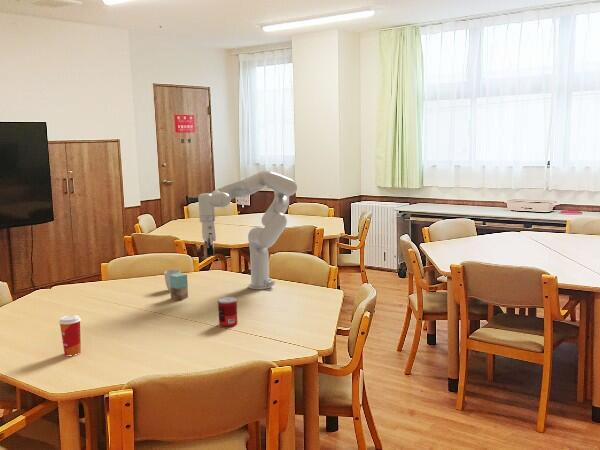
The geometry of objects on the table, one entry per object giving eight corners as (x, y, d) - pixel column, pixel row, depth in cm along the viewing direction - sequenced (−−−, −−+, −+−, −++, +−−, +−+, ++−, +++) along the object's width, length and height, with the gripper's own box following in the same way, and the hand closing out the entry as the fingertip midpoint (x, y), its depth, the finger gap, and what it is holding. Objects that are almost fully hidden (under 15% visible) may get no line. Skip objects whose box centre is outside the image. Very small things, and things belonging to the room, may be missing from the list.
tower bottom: (188, 297, 301) (187, 285, 300) (181, 300, 296) (181, 288, 295) (177, 296, 303) (176, 284, 302) (171, 299, 298) (170, 287, 297)
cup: (177, 292, 311) (176, 273, 310) (162, 292, 313) (161, 273, 311) (183, 288, 319) (182, 270, 318) (169, 288, 321) (168, 269, 319)
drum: (216, 254, 303) (215, 243, 302) (210, 256, 299) (209, 244, 298) (208, 254, 305) (207, 242, 304) (202, 256, 301) (201, 244, 300)
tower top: (187, 286, 299) (187, 274, 298) (177, 288, 295) (176, 276, 294) (180, 284, 303) (180, 272, 302) (170, 287, 299) (169, 275, 298)
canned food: (240, 322, 259) (239, 297, 257) (232, 328, 252) (231, 302, 250) (224, 321, 262) (223, 296, 260) (216, 326, 254) (214, 301, 252)
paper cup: (65, 350, 230) (62, 314, 228) (85, 349, 230) (83, 313, 228) (58, 358, 222) (55, 321, 220) (80, 356, 223) (77, 320, 221)
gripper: (218, 219, 292) (220, 256, 295) (210, 215, 308) (212, 250, 311) (203, 221, 290) (205, 258, 293) (196, 216, 306) (198, 252, 308)
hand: (209, 254), depth 302 cm, fingers closed on drum, 5 cm apart
